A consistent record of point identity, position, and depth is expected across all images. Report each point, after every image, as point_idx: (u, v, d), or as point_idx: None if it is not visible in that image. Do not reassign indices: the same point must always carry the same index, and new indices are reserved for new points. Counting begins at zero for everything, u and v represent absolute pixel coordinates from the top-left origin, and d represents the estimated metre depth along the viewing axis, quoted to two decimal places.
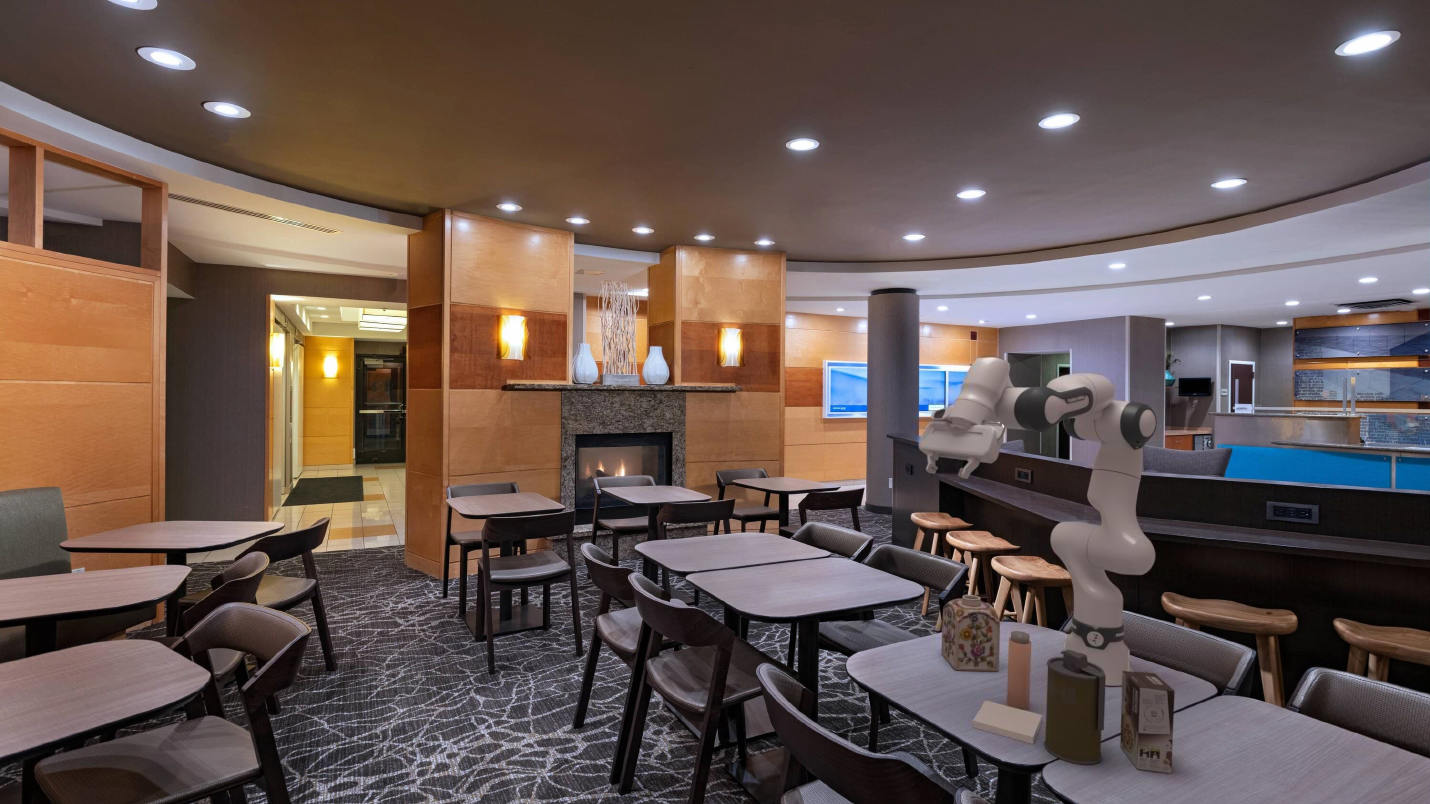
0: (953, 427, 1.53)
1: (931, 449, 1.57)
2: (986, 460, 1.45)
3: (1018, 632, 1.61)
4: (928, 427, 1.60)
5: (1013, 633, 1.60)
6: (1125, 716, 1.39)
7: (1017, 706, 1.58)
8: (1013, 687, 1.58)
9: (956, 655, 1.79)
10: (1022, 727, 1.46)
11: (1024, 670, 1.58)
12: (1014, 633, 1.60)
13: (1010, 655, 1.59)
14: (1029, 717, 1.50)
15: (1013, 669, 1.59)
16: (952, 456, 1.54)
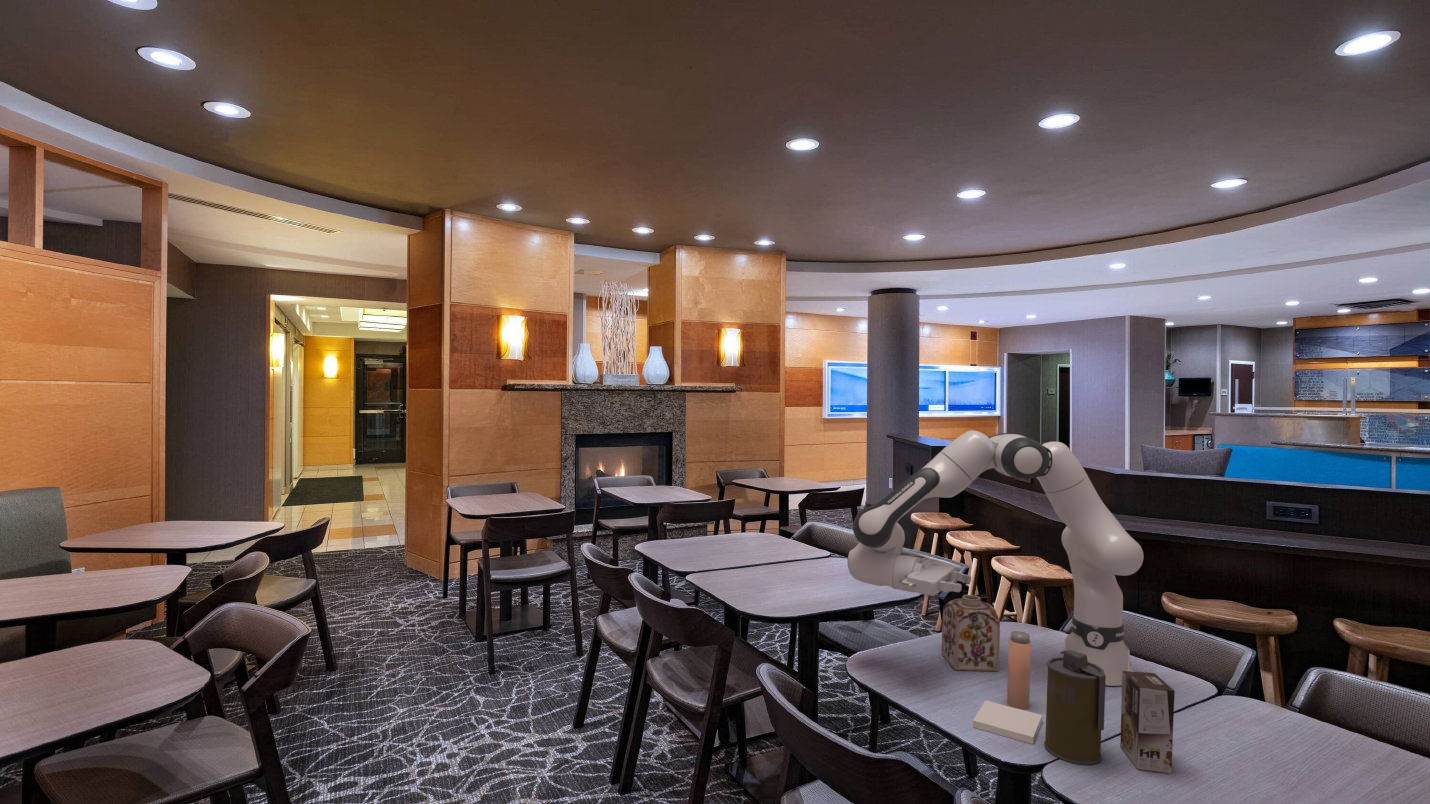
0: None
1: (950, 582, 1.74)
2: (936, 588, 1.62)
3: (1018, 632, 1.61)
4: None
5: (1013, 633, 1.60)
6: (1125, 716, 1.39)
7: (1017, 706, 1.58)
8: (1013, 687, 1.58)
9: (956, 655, 1.79)
10: (1022, 727, 1.46)
11: (1024, 670, 1.58)
12: (1014, 633, 1.60)
13: (1010, 655, 1.59)
14: (1029, 717, 1.50)
15: (1013, 669, 1.59)
16: None
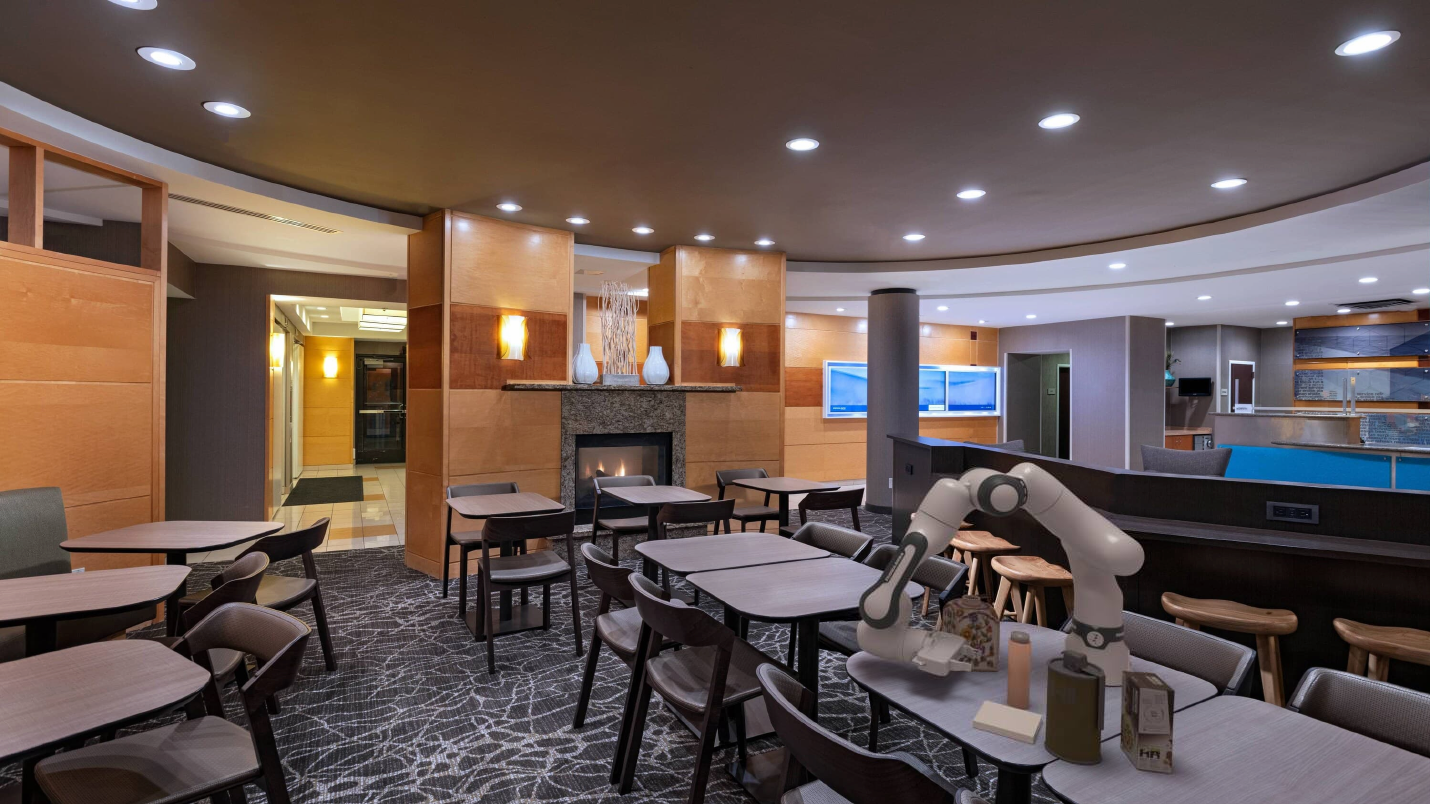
0: None
1: None
2: (946, 668, 1.61)
3: (1018, 632, 1.61)
4: None
5: (1013, 633, 1.60)
6: (1125, 716, 1.39)
7: (1017, 706, 1.58)
8: (1013, 687, 1.58)
9: None
10: (1022, 727, 1.46)
11: (1024, 670, 1.58)
12: (1014, 633, 1.60)
13: (1010, 655, 1.59)
14: (1029, 717, 1.50)
15: (1013, 669, 1.59)
16: None
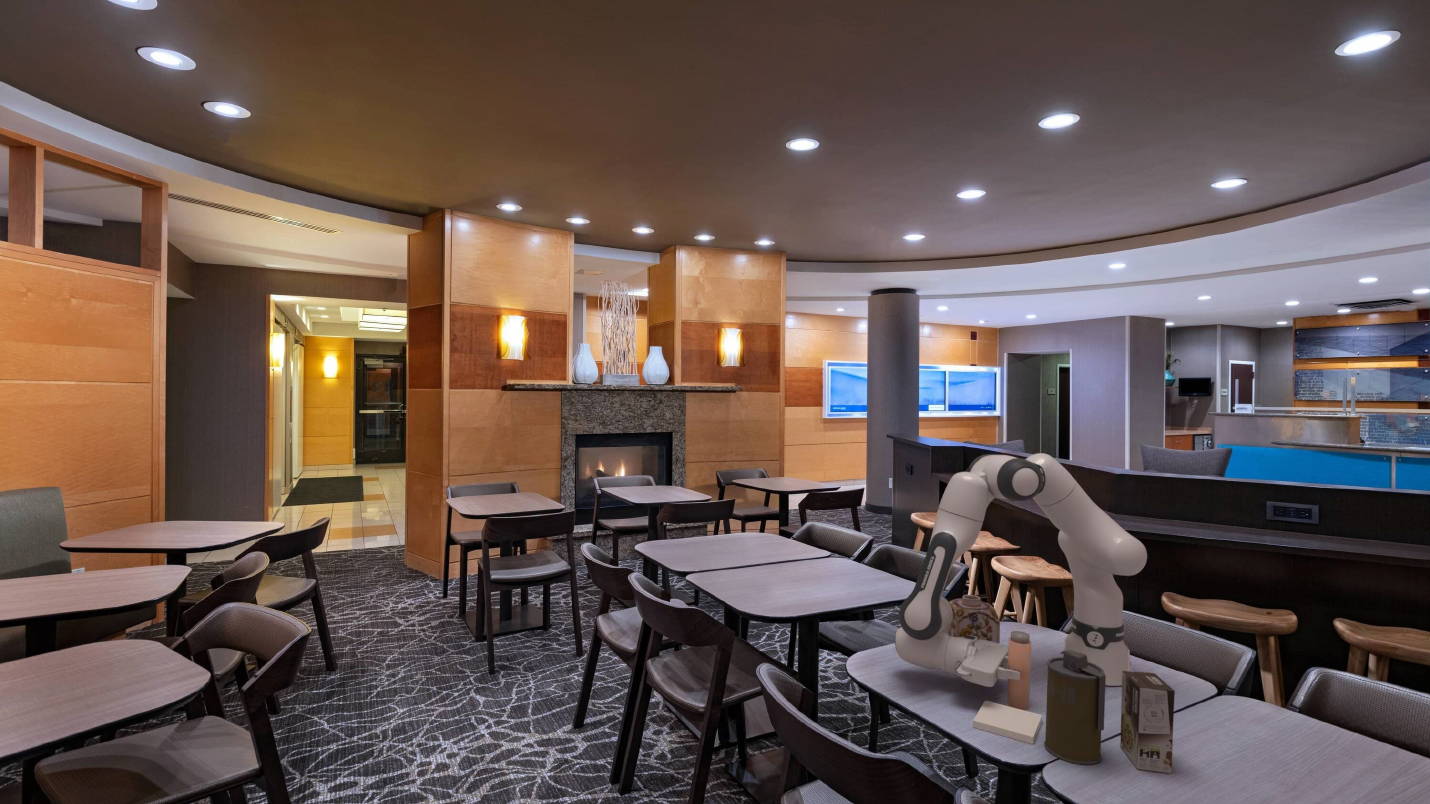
0: None
1: None
2: (993, 679, 1.55)
3: (1018, 632, 1.61)
4: None
5: (1013, 633, 1.60)
6: (1125, 716, 1.39)
7: (1017, 706, 1.58)
8: (1013, 687, 1.58)
9: None
10: (1022, 727, 1.46)
11: (1024, 670, 1.58)
12: (1014, 632, 1.60)
13: (1010, 655, 1.59)
14: (1029, 717, 1.50)
15: None
16: None
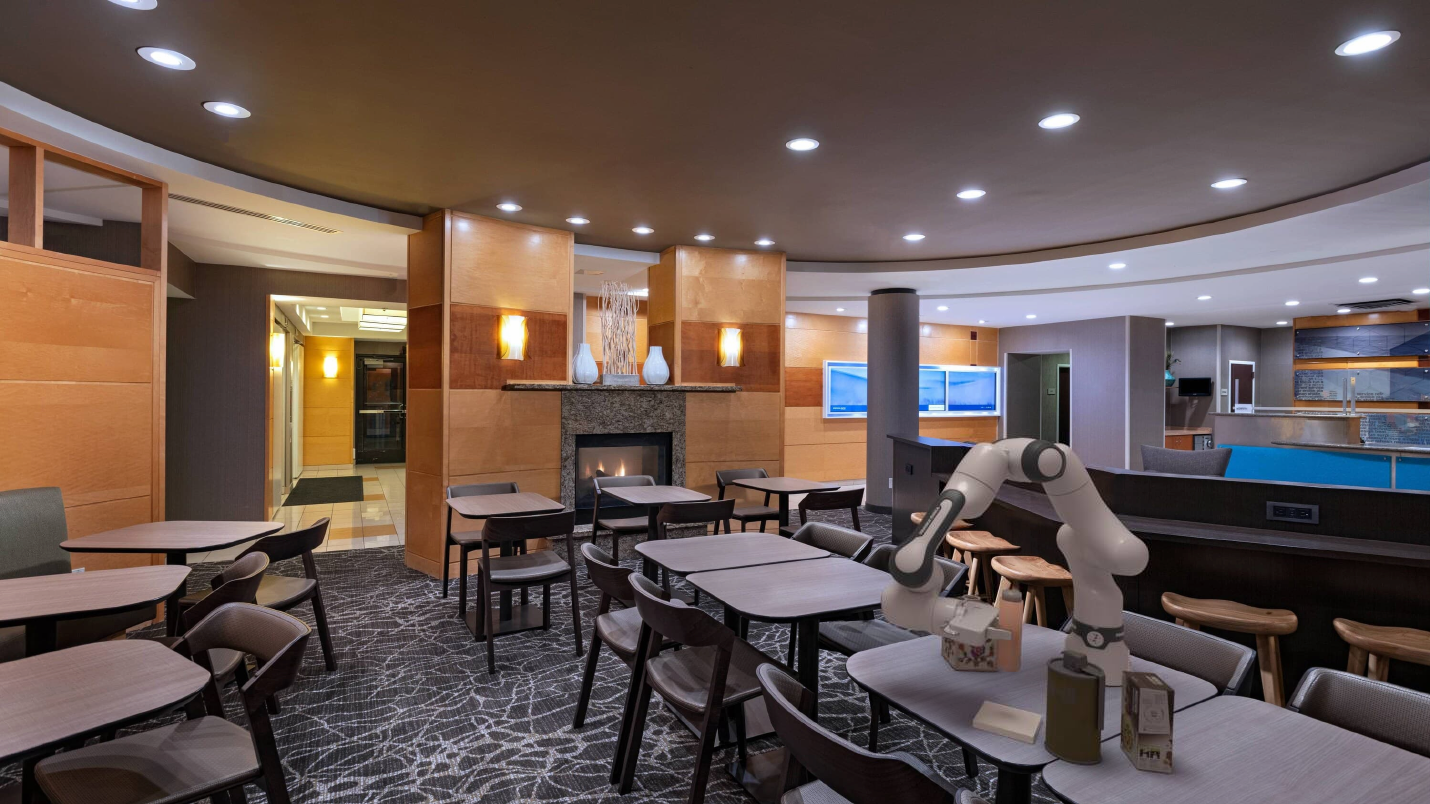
0: None
1: None
2: (982, 638, 1.45)
3: (1009, 591, 1.52)
4: None
5: (1004, 591, 1.51)
6: (1125, 716, 1.39)
7: (1007, 668, 1.49)
8: (1003, 648, 1.49)
9: (956, 655, 1.79)
10: (1022, 727, 1.46)
11: (1015, 630, 1.48)
12: (1006, 591, 1.51)
13: (1001, 615, 1.50)
14: (1029, 717, 1.50)
15: None
16: None
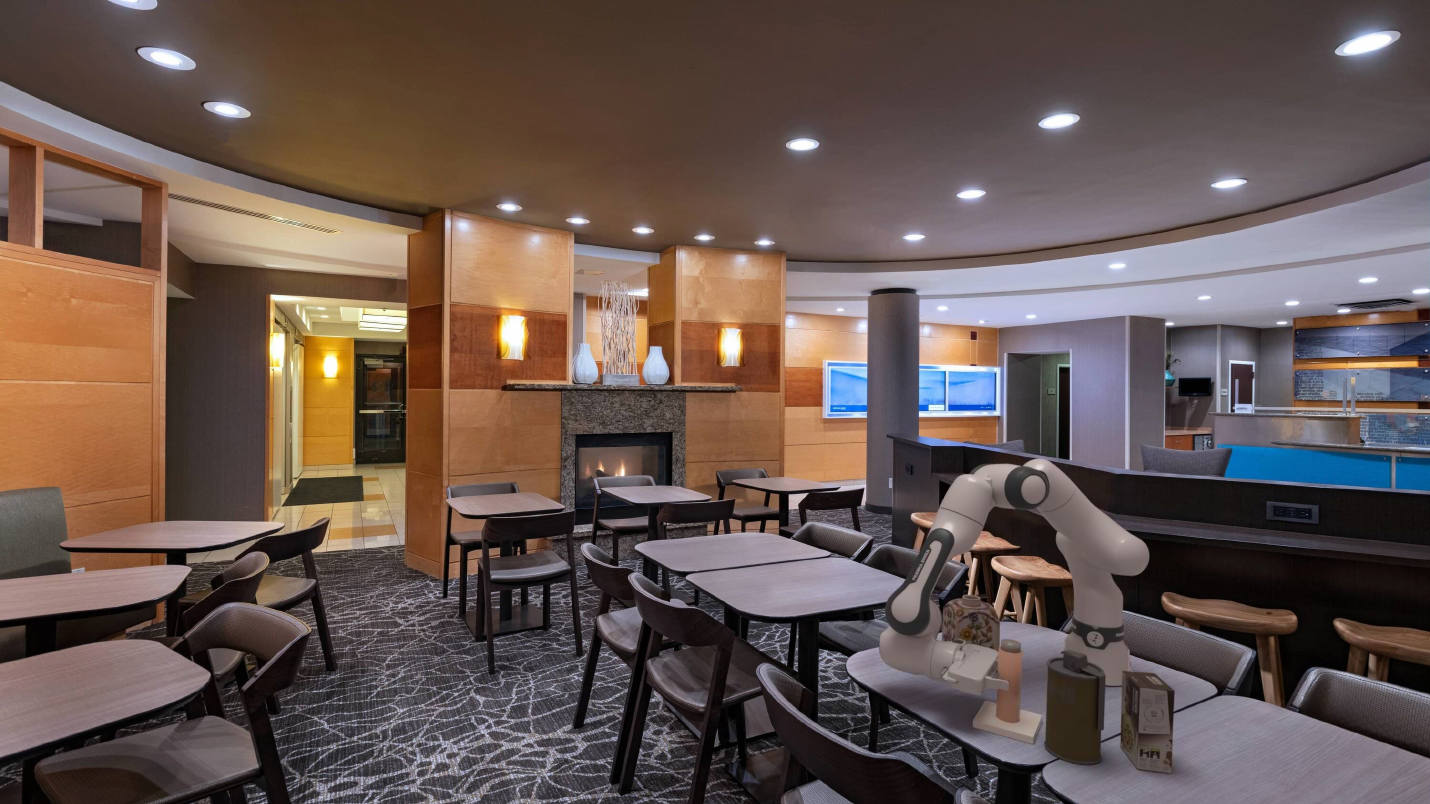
0: None
1: None
2: (981, 686, 1.45)
3: (1008, 640, 1.51)
4: None
5: (1003, 641, 1.50)
6: (1125, 716, 1.39)
7: (1007, 719, 1.48)
8: (1003, 699, 1.49)
9: None
10: (1022, 727, 1.46)
11: (1014, 681, 1.48)
12: (1005, 641, 1.50)
13: (1000, 665, 1.49)
14: (1029, 717, 1.50)
15: None
16: None
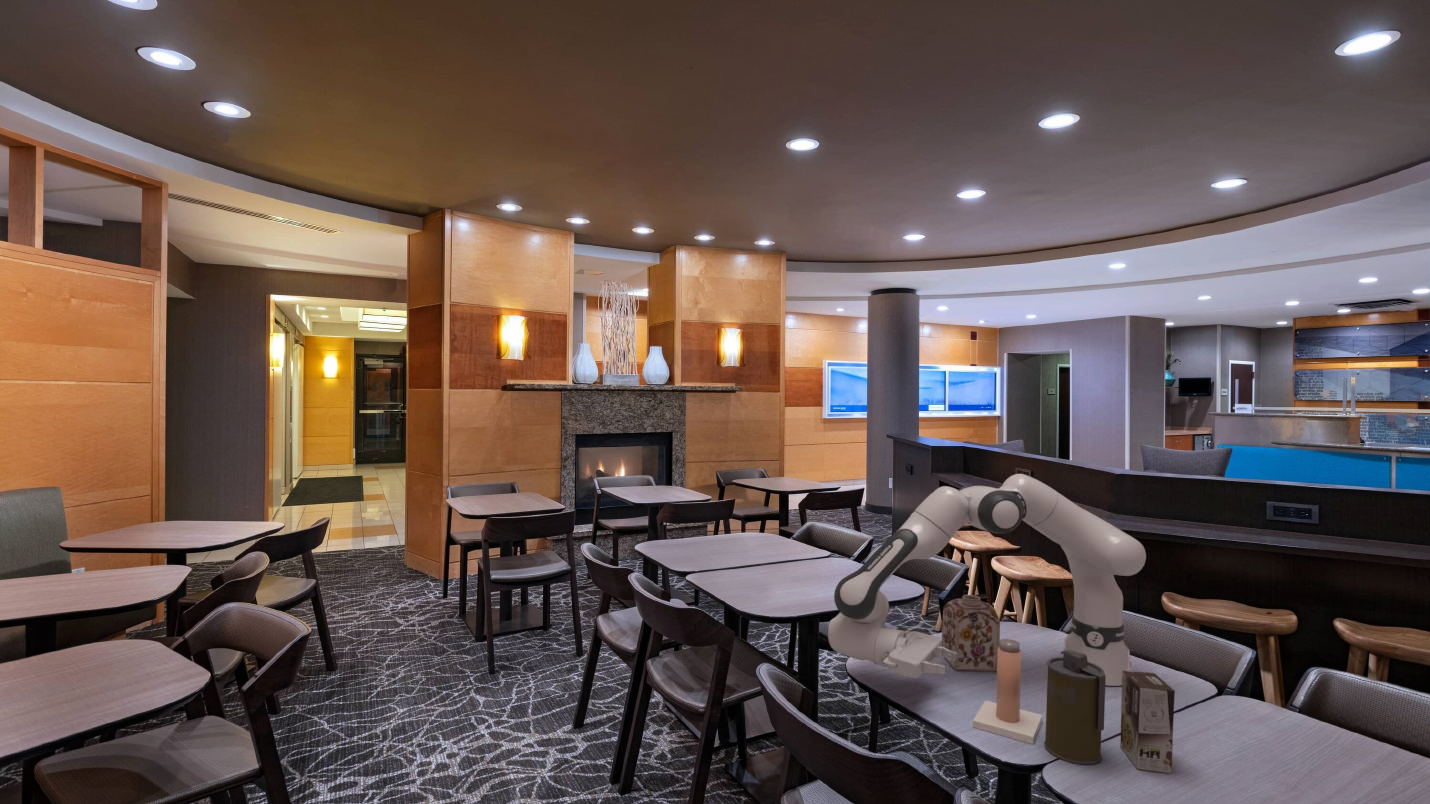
0: None
1: None
2: (919, 670, 1.52)
3: (1007, 640, 1.51)
4: None
5: (1002, 641, 1.50)
6: (1125, 716, 1.39)
7: (1007, 719, 1.48)
8: (1002, 699, 1.49)
9: None
10: (1022, 727, 1.46)
11: (1014, 681, 1.48)
12: (1003, 641, 1.50)
13: (999, 665, 1.49)
14: (1029, 717, 1.50)
15: (1002, 680, 1.49)
16: None
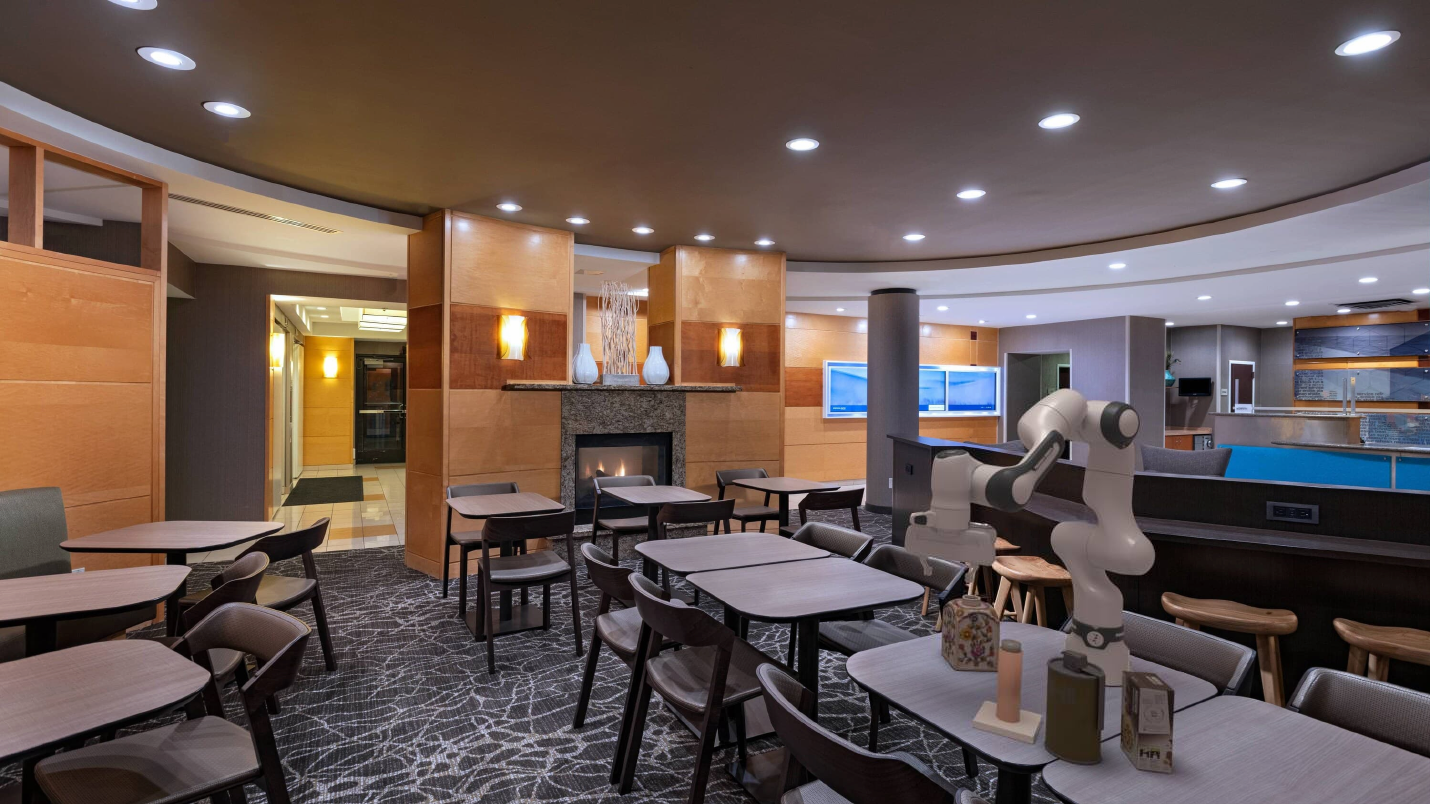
0: (942, 534, 1.58)
1: (923, 555, 1.62)
2: None
3: (1009, 640, 1.51)
4: (910, 532, 1.63)
5: (1004, 641, 1.50)
6: (1125, 716, 1.39)
7: (1007, 719, 1.48)
8: (1003, 699, 1.48)
9: (956, 655, 1.79)
10: (1022, 727, 1.46)
11: (1015, 681, 1.48)
12: (1005, 641, 1.50)
13: (1000, 665, 1.49)
14: (1029, 717, 1.50)
15: (1003, 680, 1.49)
16: None
